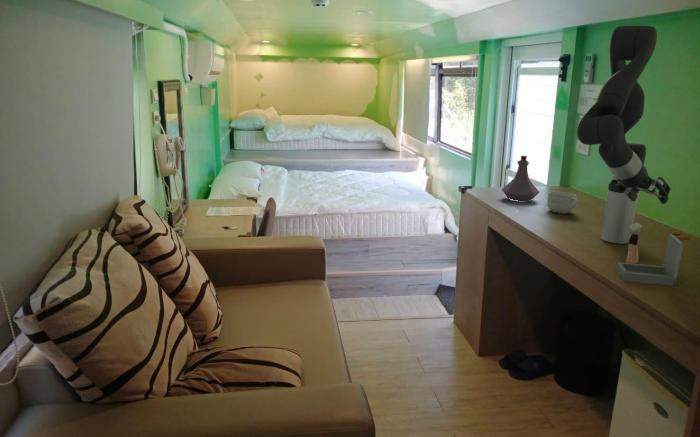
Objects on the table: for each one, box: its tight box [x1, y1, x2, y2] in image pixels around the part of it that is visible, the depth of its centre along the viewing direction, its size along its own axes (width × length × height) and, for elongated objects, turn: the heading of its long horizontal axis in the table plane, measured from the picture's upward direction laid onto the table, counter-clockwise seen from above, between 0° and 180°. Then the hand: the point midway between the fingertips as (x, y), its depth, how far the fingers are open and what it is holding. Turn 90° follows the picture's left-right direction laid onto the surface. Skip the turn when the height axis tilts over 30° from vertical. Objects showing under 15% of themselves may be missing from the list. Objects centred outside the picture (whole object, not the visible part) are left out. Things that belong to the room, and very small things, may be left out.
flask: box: [501, 155, 541, 202], centre depth 236 cm, size 16×16×20 cm
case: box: [615, 233, 684, 287], centre depth 146 cm, size 9×13×12 cm
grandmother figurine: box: [624, 222, 643, 264], centre depth 156 cm, size 8×4×13 cm, turn 157°
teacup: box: [547, 191, 580, 214], centre depth 216 cm, size 14×11×8 cm
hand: (649, 199), depth 151 cm, fingers open, 8 cm apart
